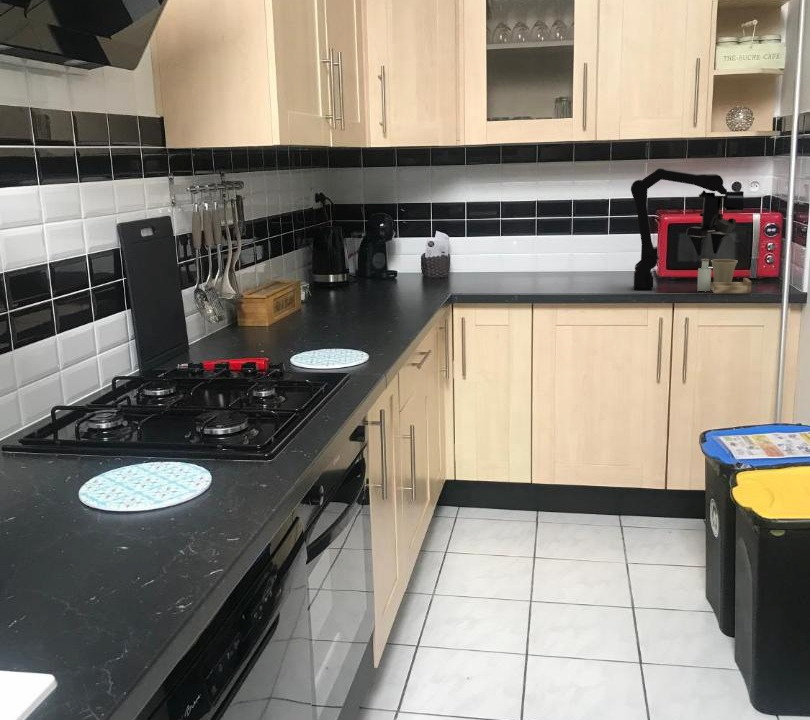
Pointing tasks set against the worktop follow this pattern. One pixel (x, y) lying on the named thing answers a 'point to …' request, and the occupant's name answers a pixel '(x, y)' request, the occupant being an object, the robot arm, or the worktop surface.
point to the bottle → (704, 276)
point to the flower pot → (723, 269)
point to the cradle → (732, 287)
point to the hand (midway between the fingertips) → (707, 254)
